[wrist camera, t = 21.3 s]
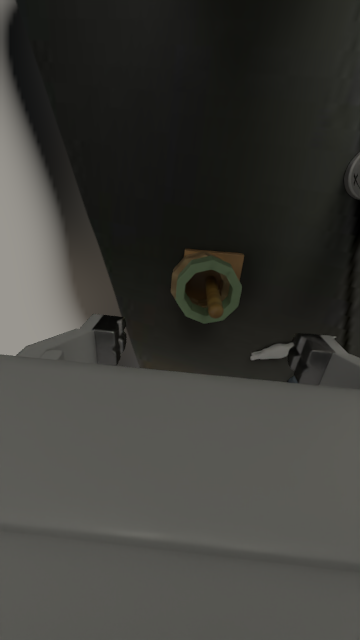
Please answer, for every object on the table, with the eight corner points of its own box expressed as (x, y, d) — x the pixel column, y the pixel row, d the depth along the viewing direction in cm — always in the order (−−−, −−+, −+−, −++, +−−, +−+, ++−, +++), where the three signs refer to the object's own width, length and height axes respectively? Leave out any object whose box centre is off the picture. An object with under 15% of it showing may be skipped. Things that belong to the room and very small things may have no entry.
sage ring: (180, 252, 34) (178, 256, 31) (243, 258, 34) (247, 263, 31) (175, 312, 38) (173, 320, 35) (231, 317, 38) (234, 326, 35)
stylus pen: (250, 360, 46) (252, 366, 45) (247, 349, 45) (249, 354, 44) (334, 340, 43) (340, 346, 42) (333, 327, 42) (338, 333, 41)
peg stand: (185, 248, 38) (179, 271, 26) (242, 253, 38) (265, 278, 25) (180, 301, 42) (174, 344, 29) (233, 306, 42) (248, 351, 29)
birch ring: (175, 247, 37) (173, 251, 34) (233, 254, 36) (236, 258, 34) (170, 304, 41) (169, 311, 38) (223, 309, 41) (225, 317, 38)
